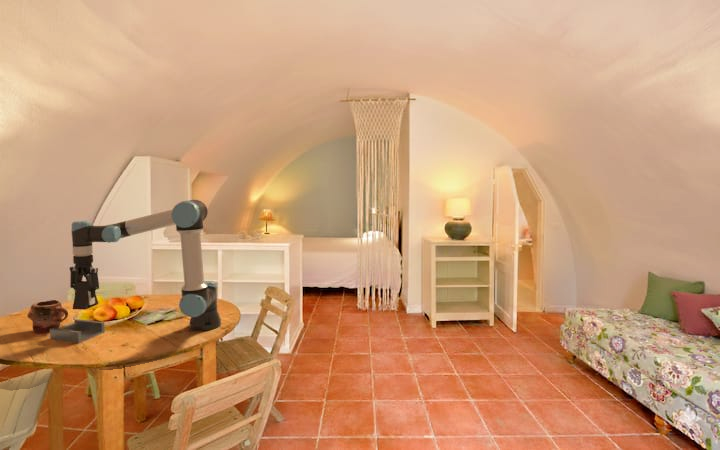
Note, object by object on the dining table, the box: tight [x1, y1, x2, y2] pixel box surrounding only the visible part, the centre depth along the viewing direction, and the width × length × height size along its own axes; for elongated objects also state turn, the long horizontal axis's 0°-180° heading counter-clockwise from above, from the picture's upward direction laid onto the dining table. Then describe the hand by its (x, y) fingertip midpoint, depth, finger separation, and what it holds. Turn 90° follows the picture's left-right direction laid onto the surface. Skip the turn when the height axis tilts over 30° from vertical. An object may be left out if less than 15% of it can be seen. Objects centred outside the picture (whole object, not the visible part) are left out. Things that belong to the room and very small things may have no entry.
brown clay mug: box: [27, 299, 69, 335], centre depth 196 cm, size 20×12×14 cm, turn 89°
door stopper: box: [72, 280, 99, 310], centre depth 188 cm, size 9×6×12 cm, turn 178°
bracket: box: [49, 318, 106, 344], centre depth 191 cm, size 16×14×5 cm
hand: (85, 303), depth 188 cm, fingers closed on door stopper, 6 cm apart
